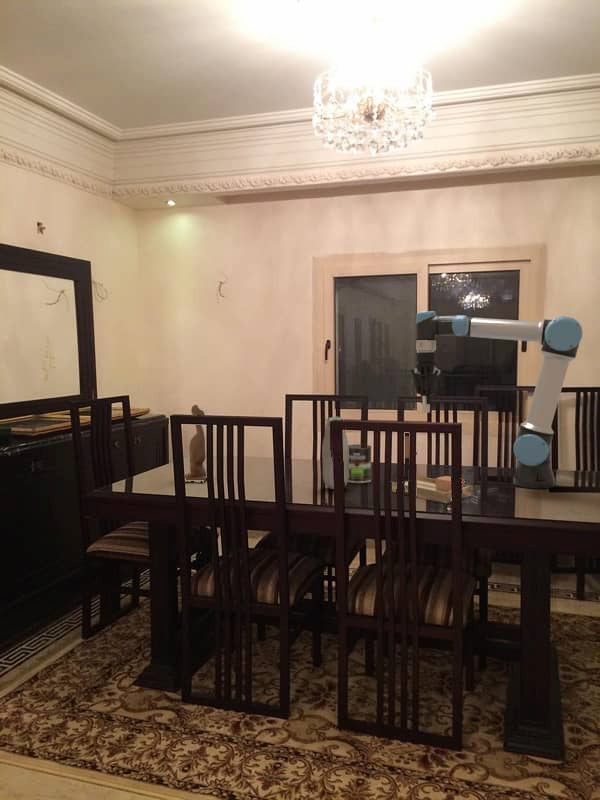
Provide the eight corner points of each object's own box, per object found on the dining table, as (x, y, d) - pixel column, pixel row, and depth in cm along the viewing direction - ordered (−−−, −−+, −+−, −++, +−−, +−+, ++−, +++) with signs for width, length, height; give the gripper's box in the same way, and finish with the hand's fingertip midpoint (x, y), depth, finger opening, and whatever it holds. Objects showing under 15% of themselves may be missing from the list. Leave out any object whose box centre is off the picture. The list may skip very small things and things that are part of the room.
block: (445, 486, 234) (445, 475, 233) (463, 490, 228) (463, 479, 227) (435, 489, 230) (435, 478, 229) (454, 492, 224) (454, 481, 223)
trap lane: (415, 484, 247) (415, 475, 247) (472, 495, 227) (472, 485, 227) (388, 491, 236) (388, 482, 236) (446, 503, 217) (446, 493, 217)
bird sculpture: (206, 484, 256) (206, 406, 253) (179, 483, 258) (179, 405, 255) (215, 478, 267) (215, 404, 264) (188, 477, 269) (188, 403, 266)
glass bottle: (348, 492, 236) (347, 418, 234) (321, 491, 238) (320, 418, 235) (350, 486, 246) (349, 415, 243) (324, 485, 248) (323, 415, 245)
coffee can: (369, 483, 250) (369, 448, 249) (344, 482, 252) (343, 448, 251) (373, 478, 260) (372, 444, 259) (348, 477, 262) (348, 444, 261)
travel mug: (415, 479, 256) (415, 430, 254) (397, 478, 259) (396, 430, 257) (418, 475, 263) (418, 428, 262) (400, 474, 266) (400, 427, 264)
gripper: (406, 352, 244) (406, 412, 247) (433, 351, 235) (434, 414, 237) (418, 351, 249) (418, 410, 251) (445, 351, 240) (445, 412, 242)
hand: (426, 412), depth 244 cm, fingers closed
